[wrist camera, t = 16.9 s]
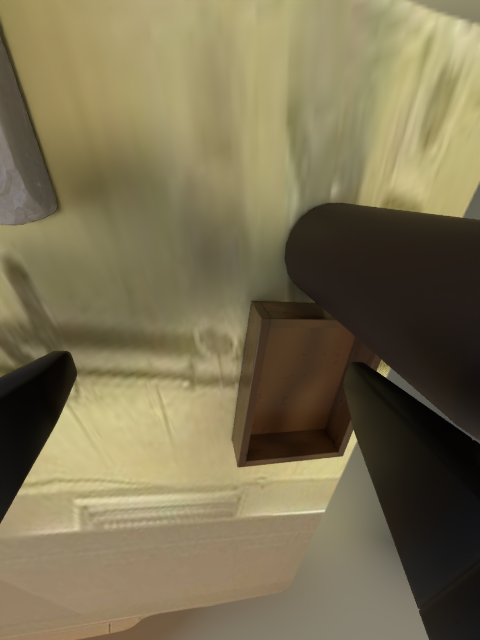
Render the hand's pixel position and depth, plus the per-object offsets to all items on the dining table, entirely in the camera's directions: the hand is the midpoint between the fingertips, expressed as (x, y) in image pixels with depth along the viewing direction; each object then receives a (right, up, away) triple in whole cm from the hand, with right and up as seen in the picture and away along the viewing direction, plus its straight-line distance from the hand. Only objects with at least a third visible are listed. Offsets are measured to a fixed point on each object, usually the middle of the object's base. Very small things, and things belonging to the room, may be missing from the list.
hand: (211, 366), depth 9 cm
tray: (+6, -4, +17) cm, 19 cm away
